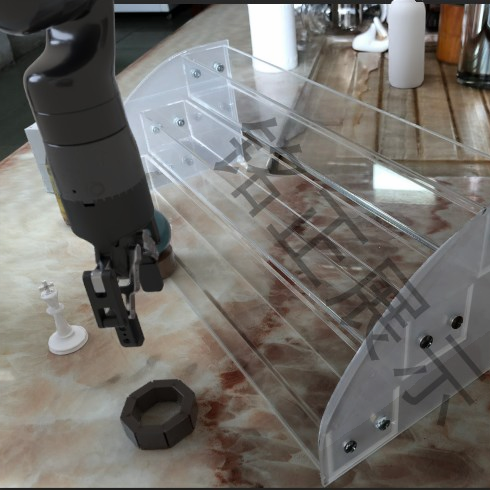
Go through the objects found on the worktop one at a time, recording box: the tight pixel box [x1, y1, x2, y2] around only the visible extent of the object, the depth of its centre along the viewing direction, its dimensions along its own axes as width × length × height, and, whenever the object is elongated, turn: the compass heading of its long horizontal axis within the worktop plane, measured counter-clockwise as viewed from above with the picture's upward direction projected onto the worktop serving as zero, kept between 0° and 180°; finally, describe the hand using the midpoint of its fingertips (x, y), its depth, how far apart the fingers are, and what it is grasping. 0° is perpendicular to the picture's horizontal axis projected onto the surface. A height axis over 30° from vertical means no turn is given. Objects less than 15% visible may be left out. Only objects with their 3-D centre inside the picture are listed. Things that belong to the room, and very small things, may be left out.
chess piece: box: [37, 279, 89, 356], centre depth 75 cm, size 5×5×10 cm
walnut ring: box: [119, 378, 200, 450], centre depth 65 cm, size 8×8×2 cm
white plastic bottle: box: [387, 0, 427, 90], centre depth 142 cm, size 9×9×30 cm
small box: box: [24, 121, 55, 194], centre depth 112 cm, size 8×6×13 cm
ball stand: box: [143, 207, 177, 280], centre depth 87 cm, size 8×8×10 cm
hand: (144, 315), depth 62 cm, fingers open, 8 cm apart
